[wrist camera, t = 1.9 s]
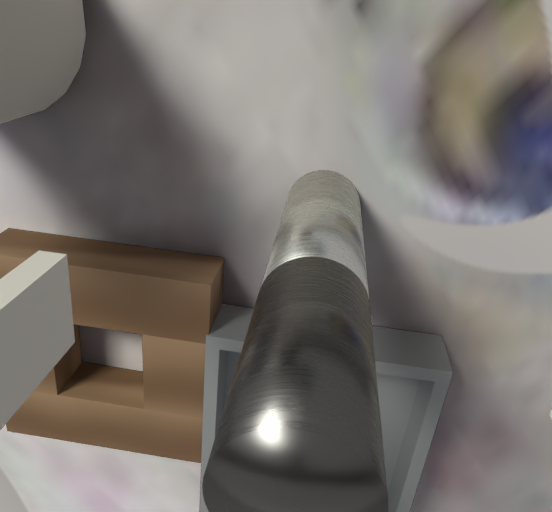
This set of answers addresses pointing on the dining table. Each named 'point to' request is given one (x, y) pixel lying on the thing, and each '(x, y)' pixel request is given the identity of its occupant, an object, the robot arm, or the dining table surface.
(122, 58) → the dining table surface
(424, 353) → the tray
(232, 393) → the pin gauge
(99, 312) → the plate
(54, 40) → the can
